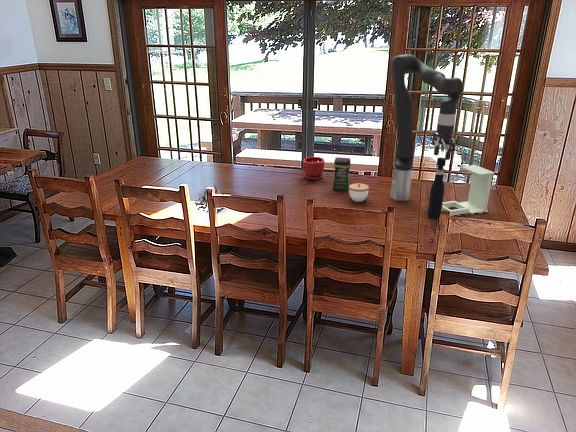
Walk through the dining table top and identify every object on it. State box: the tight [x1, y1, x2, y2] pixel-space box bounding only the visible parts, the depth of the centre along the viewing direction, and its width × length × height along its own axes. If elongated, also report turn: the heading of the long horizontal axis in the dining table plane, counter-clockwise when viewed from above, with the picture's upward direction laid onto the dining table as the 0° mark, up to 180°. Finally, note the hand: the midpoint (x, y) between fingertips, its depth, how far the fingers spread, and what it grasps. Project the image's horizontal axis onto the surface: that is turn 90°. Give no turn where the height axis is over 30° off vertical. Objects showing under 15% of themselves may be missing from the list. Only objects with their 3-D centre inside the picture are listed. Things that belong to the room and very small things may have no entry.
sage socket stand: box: [441, 164, 495, 217], centre depth 230 cm, size 22×14×21 cm, turn 109°
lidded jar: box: [348, 182, 370, 203], centre depth 247 cm, size 11×11×9 cm
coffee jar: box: [332, 156, 352, 191], centre depth 262 cm, size 10×8×19 cm
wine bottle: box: [426, 157, 447, 220], centre depth 220 cm, size 6×6×30 cm
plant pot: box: [302, 156, 325, 181], centre depth 282 cm, size 13×13×12 cm
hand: (441, 157), depth 214 cm, fingers open, 8 cm apart
